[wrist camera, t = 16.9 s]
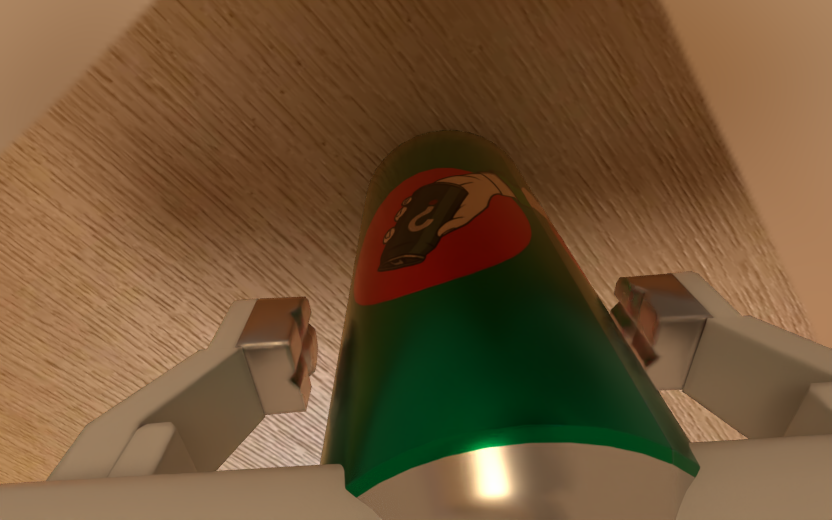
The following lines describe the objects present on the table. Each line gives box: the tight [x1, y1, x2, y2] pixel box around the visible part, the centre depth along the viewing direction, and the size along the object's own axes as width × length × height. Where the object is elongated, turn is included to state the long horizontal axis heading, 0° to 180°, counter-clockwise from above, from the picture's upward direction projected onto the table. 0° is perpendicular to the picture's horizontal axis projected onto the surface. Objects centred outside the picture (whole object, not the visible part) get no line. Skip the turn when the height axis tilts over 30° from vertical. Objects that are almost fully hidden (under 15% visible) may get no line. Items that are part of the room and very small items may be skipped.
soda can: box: [320, 130, 700, 520], centre depth 10 cm, size 5×5×12 cm
